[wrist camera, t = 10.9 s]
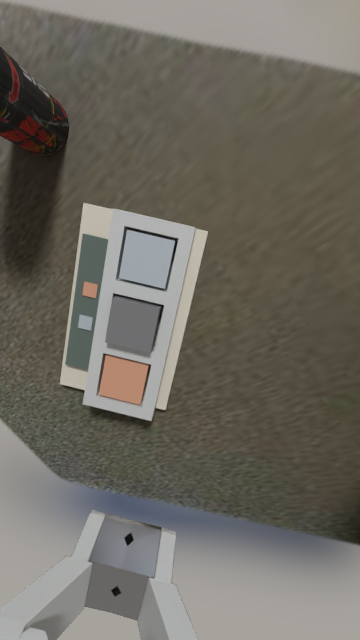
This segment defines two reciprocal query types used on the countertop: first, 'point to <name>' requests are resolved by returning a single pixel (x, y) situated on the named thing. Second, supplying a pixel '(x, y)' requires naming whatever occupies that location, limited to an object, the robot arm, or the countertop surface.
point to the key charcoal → (133, 323)
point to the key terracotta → (124, 379)
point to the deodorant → (29, 111)
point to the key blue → (147, 259)
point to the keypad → (104, 284)
